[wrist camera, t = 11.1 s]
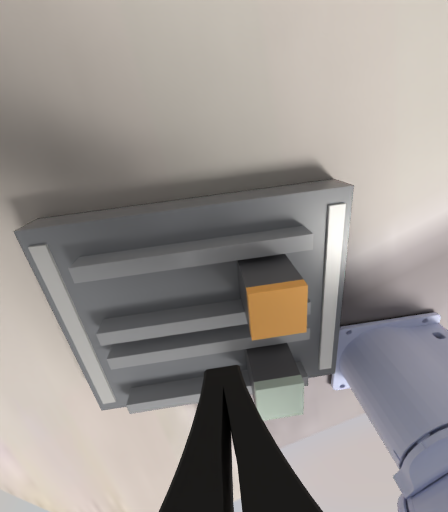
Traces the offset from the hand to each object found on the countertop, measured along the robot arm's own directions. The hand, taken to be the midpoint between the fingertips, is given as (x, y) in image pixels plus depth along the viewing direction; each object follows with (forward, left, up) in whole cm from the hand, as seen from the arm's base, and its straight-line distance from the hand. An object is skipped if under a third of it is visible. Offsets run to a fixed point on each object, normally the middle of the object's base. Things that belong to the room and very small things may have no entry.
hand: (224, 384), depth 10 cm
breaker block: (+1, +3, -10) cm, 11 cm away
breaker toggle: (-3, 0, -8) cm, 8 cm away
